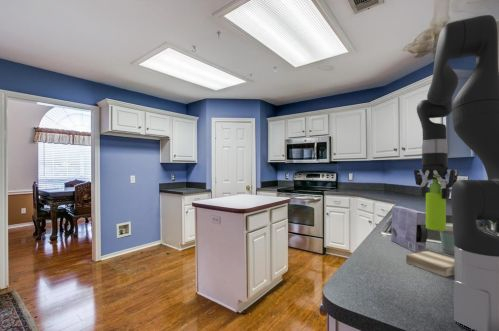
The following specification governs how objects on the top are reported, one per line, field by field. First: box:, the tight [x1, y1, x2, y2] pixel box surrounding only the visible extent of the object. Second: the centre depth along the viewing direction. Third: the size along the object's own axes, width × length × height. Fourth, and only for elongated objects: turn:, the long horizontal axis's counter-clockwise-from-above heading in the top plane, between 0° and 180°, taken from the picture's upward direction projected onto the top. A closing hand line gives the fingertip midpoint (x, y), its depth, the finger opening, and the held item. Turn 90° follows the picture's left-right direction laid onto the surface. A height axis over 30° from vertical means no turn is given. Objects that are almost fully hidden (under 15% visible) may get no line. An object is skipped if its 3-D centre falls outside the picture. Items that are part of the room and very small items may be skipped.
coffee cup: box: [439, 222, 454, 256], centre depth 103 cm, size 8×9×12 cm
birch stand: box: [405, 250, 454, 278], centre depth 88 cm, size 13×13×3 cm
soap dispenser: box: [425, 175, 447, 232], centre depth 88 cm, size 6×7×20 cm
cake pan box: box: [390, 205, 429, 254], centre depth 111 cm, size 19×5×18 cm, turn 0°
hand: (434, 197), depth 88 cm, fingers closed on soap dispenser, 6 cm apart
